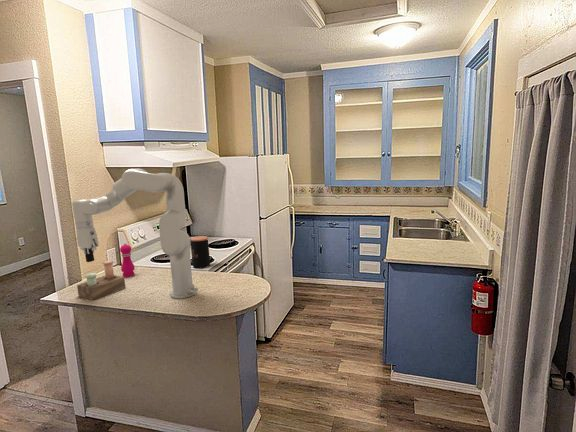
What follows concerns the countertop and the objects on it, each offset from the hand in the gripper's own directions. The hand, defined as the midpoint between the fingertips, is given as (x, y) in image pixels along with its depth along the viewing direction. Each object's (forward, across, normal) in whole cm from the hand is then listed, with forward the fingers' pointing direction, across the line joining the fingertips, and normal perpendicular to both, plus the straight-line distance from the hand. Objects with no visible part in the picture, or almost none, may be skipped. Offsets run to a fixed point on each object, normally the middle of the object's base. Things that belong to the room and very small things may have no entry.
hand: (90, 261), depth 182 cm
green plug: (+17, +1, 0) cm, 17 cm away
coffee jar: (+19, -17, -59) cm, 64 cm away
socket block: (+18, +1, -4) cm, 18 cm away
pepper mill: (+18, +11, -28) cm, 35 cm away
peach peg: (+13, +1, -10) cm, 16 cm away
